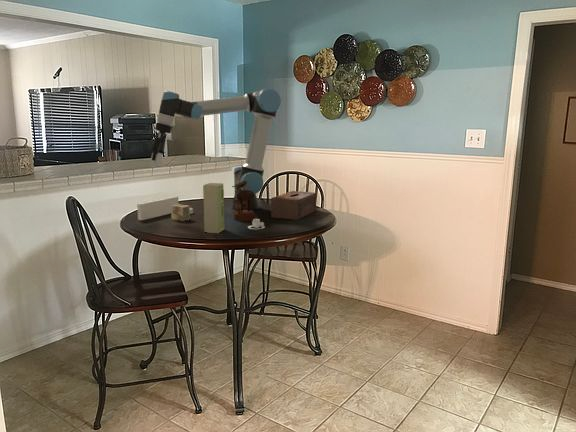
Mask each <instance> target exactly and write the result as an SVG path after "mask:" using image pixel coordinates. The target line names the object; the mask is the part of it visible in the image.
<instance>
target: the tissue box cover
mask: <svg viewBox="0 0 576 432" xmlns="http://www.w3.org/2000/svg"><path fill="white" fill-rule="evenodd" d="M270 208H271V209H270V213H271V214H270V215H271V216H270V217H271V218H276V219H288V220H297V221H298V220H299V219H302V218H304V217H306V216H308V215H310V214H311V213H314V212H316V211H317V192H312V191H299V190H298V191H295V190H290V191H288V192H286V193H282V194H280V195H276V196H274V197H271V198H270Z"/></svg>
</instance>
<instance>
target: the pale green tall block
mask: <svg viewBox="0 0 576 432" xmlns="http://www.w3.org/2000/svg"><path fill="white" fill-rule="evenodd" d="M202 189H203V190H202V194H203V220H204V221H203V222H204V223H203V225H204V230H203V231H204V233H205V232H207V233H208V234H219V233H221V232H223V230H225V201H224V198H225V194H224V193H225V192H224V191H225V190H224V183H222V182H208V183H206V184H205V183H204V184H203V186H202ZM207 233H206V234H207Z"/></svg>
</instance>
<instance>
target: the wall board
mask: <svg viewBox="0 0 576 432" xmlns="http://www.w3.org/2000/svg"><path fill="white" fill-rule="evenodd" d="M178 204H180V203H179V196H171V197H165V198H161V199H156V200H150V201H146V202H141V203H137V205H136V206H137V220H138V221H145V220H149V219H154V218H157V217H163V216H166V215H170V214H171V215H170V216H171V217H172V206H173V205H178ZM193 214H194V209H193V207H190V215H193Z"/></svg>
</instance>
